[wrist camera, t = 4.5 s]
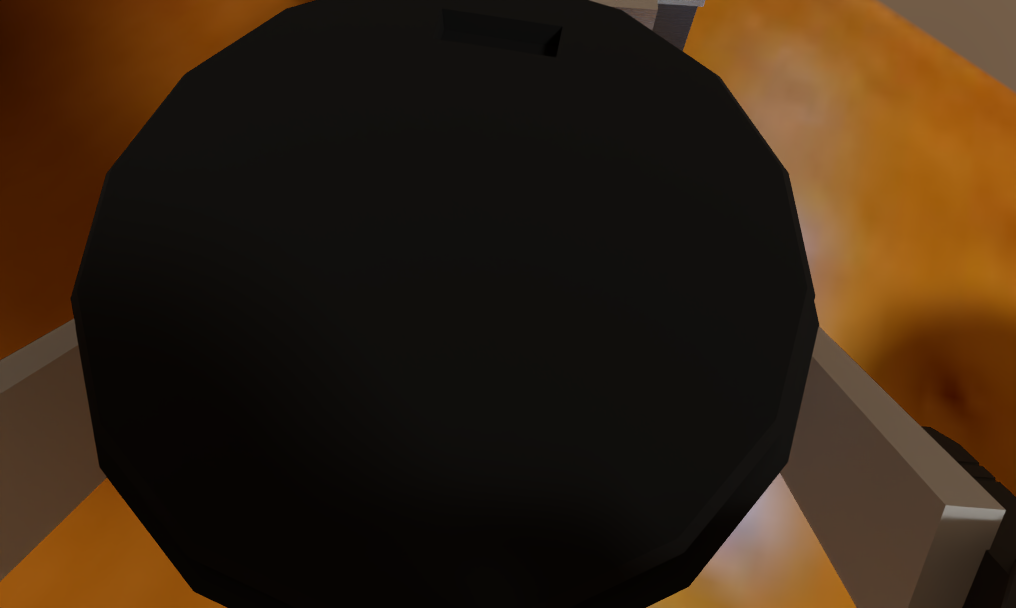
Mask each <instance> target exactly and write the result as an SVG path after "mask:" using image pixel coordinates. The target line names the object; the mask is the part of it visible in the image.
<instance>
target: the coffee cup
mask: <svg viewBox="0 0 1016 608" xmlns="http://www.w3.org/2000/svg"><path fill="white" fill-rule="evenodd" d="M814 299H815V292H814V288H813V283H812V278H811V274H810V269H809V265H808V260H807V256H806V251H805V246H804V242H803V237H802V233H801V228H800V224H799V219H798V214H797V210H796V205H795V201H794V196H793V192H792V187H791V182H790V178H789V173H788V172H787V170H786V169H785V168H784V166H783V165H782V163H781V162H780V161H779V159H778V158H777V156H776V155H775V154H774V152H773V151H772V149H771V148H770V147H769V145H768V144H767V142H766V141H765V140H764V138H763V137H762V135H761V134H760V133H759V131H758V130H757V128H756V127H755V126H754V124H753V123H752V121H751V120H750V119H749V117H748V116H747V114H746V113H745V111H744V110H743V109H742V107H741V106H740V104H739V103H738V102H737V100H736V99H735V97H734V96H733V95H732V93H731V92H730V90H729V89H728V88H727V86H726V85H725V83H724V82H723V81H722V79H721V78H720V77H719V76H718V75H716V74H715V73H713V72H712V71H711V70H709V69H708V68H706V67H705V66H703V65H702V64H700V63H699V62H697V61H696V60H694V59H693V58H691V57H690V56H689V55H687V54H686V53H684V52H683V51H681V50H680V49H678V48H677V47H675V46H674V45H672V44H671V43H670V42H668V41H667V40H665V39H664V38H662V37H661V36H659V35H658V34H656V33H655V32H653V31H652V30H651V29H649V28H648V27H646V26H645V25H643V24H642V23H640V22H639V21H637V20H636V19H634V18H633V17H632V16H630V15H629V14H627V13H626V12H624V11H622V10H621V9H617V8H614V7H610V6H607V5H604V4H600V3H597V2H594V1H590V0H315V1H312V2H308V3H305V4H301V5H298V6H294V7H291V8H287V9H285V10H284V11H282V12H280V13H279V14H277V15H276V16H274V17H273V18H271V19H270V20H268V21H267V22H265V23H263V24H262V25H260V26H259V27H257V28H256V29H254V30H253V31H251V32H249V33H248V34H246V35H245V36H243V37H242V38H240V39H239V40H237V41H235V42H234V43H232V44H231V45H229V46H228V47H226V48H225V49H223V50H222V51H220V52H218V53H217V54H215V55H214V56H212V57H211V58H209V59H208V60H206V61H204V62H203V63H201V64H200V65H198V66H197V67H195V68H194V69H192V70H191V71H189V72H187V73H186V74H185V75H184V76H183V77H182V78H181V80H180V81H179V82H178V83H177V85H176V86H175V87H174V88H173V90H172V91H171V92H170V94H169V95H168V96H167V97H166V99H165V100H164V101H163V102H162V104H161V105H160V106H159V108H158V109H157V110H156V111H155V113H154V114H153V115H152V116H151V118H150V119H149V120H148V122H147V123H146V124H145V125H144V127H143V128H142V129H141V130H140V132H139V133H138V134H137V136H136V137H135V138H134V139H133V141H132V142H131V143H130V144H129V146H128V147H127V148H126V150H125V151H124V152H123V153H122V155H121V156H120V157H119V158H118V160H117V161H116V162H115V164H114V165H113V166H112V167H111V169H110V170H109V171H108V172H107V174H106V177H105V180H104V184H103V187H102V191H101V194H100V198H99V201H98V205H97V208H96V212H95V215H94V219H93V222H92V226H91V229H90V233H89V236H88V240H87V243H86V247H85V250H84V254H83V257H82V261H81V264H80V268H79V271H78V275H77V278H76V282H75V285H74V289H73V292H72V296H71V303H72V309H73V314H74V320H75V326H76V327H75V329H76V335H77V341H78V346H79V352H80V358H81V364H82V370H83V375H84V381H85V387H86V393H87V399H88V404H89V410H90V416H91V422H92V427H93V433H94V439H95V445H96V451H97V456H98V462H99V467H100V469H101V470H102V471H103V473H104V474H105V475H106V477H107V478H108V479H109V480H110V482H111V483H112V484H113V486H114V487H115V488H116V490H117V491H118V492H119V494H120V495H121V496H122V498H123V499H124V500H125V502H126V503H127V504H128V506H129V507H130V508H131V509H132V511H133V512H134V513H135V515H136V516H137V517H138V519H139V520H140V521H141V523H142V524H143V525H144V527H145V528H146V529H147V531H148V532H149V533H150V534H151V536H152V537H153V538H154V540H155V541H156V542H157V544H158V545H159V546H160V548H161V549H162V550H163V552H164V553H165V554H166V556H167V557H168V558H169V560H170V561H171V562H172V563H173V565H174V566H175V567H176V569H177V570H178V571H179V573H180V574H181V575H182V577H183V578H184V579H185V581H186V582H187V583H188V585H189V586H190V587H191V588H192V590H193V591H194V592H196V593H198V594H200V595H202V596H204V597H206V598H208V599H211V600H213V601H215V602H217V603H219V604H221V605H223V606H225V607H227V608H646V607H648V606H650V605H652V604H654V603H656V602H658V601H660V600H662V599H665V598H667V597H669V596H671V595H673V594H675V593H677V592H679V591H681V590H683V589H685V588H687V587H689V586H690V585H691V583H692V582H693V581H694V580H695V578H696V577H697V576H698V575H699V573H700V572H701V571H702V570H703V568H704V567H705V566H706V565H707V563H708V562H709V561H710V559H711V558H712V557H713V556H714V554H715V553H716V552H717V551H718V549H719V548H720V547H721V546H722V544H723V543H724V542H725V541H726V539H727V538H728V537H729V536H730V534H731V533H732V532H733V531H734V529H735V528H736V527H737V526H738V524H739V523H740V522H741V521H742V519H743V518H744V517H745V516H746V514H747V513H748V512H749V510H750V509H751V508H752V507H753V505H754V504H755V503H756V502H757V500H758V499H759V498H760V497H761V495H762V494H763V493H764V492H765V490H766V489H767V488H768V487H769V485H770V484H771V483H772V482H773V480H774V479H775V478H776V477H777V475H778V474H779V473H780V472H781V470H782V469H783V468H784V467H785V465H786V464H787V463H788V460H789V456H790V451H791V447H792V442H793V438H794V433H795V429H796V425H797V420H798V416H799V411H800V407H801V402H802V398H803V394H804V389H805V385H806V380H807V376H808V372H809V367H810V363H811V358H812V354H813V349H814V345H815V341H816V336H817V332H818V327H819V322H818V317H817V312H816V308H815V303H814Z"/></svg>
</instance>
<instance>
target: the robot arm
mask: <svg viewBox="0 0 1016 608" xmlns="http://www.w3.org/2000/svg"><path fill="white" fill-rule="evenodd" d="M75 327H76V326H75V320H74V319H72V320H71V321H69V322H67V323H65V324H64V325H62V326H60V327H58V328H57V329H55V330H53V331H51V332H49V333H48V334H46V335H44V336H42V337H41V338H39V339H37V340H35V341H34V342H32V343H30V344H28V345H27V346H25V347H23V348H21V349H20V350H18V351H16V352H14V353H13V354H11V355H9V356H7V357H5V358H4V359H2V360H0V581H1V580H2V579H3V578H4V577H5V576H6V575H7V574H8V573H9V572H10V571H11V570H12V569H13V568H14V567H16V566H17V565H18V564H19V563H20V562H21V561H22V560H23V559H24V558H25V557H26V556H27V555H28V554H29V553H30V552H31V551H32V550H33V549H34V548H35V547H36V546H37V545H38V544H39V543H40V542H41V541H42V540H43V539H44V538H45V537H46V536H47V535H48V534H49V533H50V532H51V531H52V530H53V529H54V528H55V527H56V526H58V525H59V524H60V523H61V522H62V521H63V520H64V519H65V518H66V517H67V516H68V515H69V514H70V513H71V512H72V511H73V510H74V509H75V508H76V507H77V506H78V505H79V504H80V503H81V502H82V501H83V500H84V499H85V498H86V497H87V496H88V495H89V494H90V493H91V492H92V491H93V490H94V489H95V488H96V487H97V486H98V485H99V484H101V483H102V482H103V481H104V480H105V479H106V478H107V477H106V475H105V474H104V473H103V471H102V470H101V469H100V467H99V462H98V456H97V451H96V445H95V439H94V433H93V427H92V422H91V416H90V410H89V404H88V399H87V393H86V387H85V381H84V375H83V370H82V364H81V358H80V352H79V346H78V341H77V335H76V329H75ZM780 474H781V475H782V477H783V479H784V481H785V482H786V484H787V486H788V488H789V489H790V491H791V493H792V495H793V496H794V498H795V500H796V502H797V503H798V505H799V507H800V509H801V510H802V512H803V514H804V516H805V517H806V519H807V521H808V523H809V524H810V526H811V528H812V530H813V531H814V533H815V535H816V537H817V538H818V540H819V542H820V544H821V545H822V547H823V549H824V551H825V553H826V554H827V556H828V558H829V560H830V561H831V563H832V565H833V567H834V568H835V570H836V572H837V574H838V575H839V577H840V579H841V581H842V582H843V584H844V586H845V588H846V589H847V591H848V593H849V595H850V596H851V598H852V600H853V602H854V603H855V605H856V607H857V608H1016V497H1015V496H1014V495H1013V494H1012V493H1011V492H1010V491H1009V490H1008V489H1007V488H1005V487H1004V486H1003V485H1002V484H1001V483H1000V482H996V481H995V477H994V476H993V475H992V474H990V473H989V472H988V471H987V470H986V469H985V468H984V467H983V466H979V462H978V461H977V460H976V459H974V458H973V457H972V456H971V455H970V454H969V453H968V452H967V451H966V450H965V449H964V448H963V447H962V446H961V445H959V444H958V443H956V442H955V441H953V440H951V439H950V438H948V437H946V436H944V435H943V434H941V433H939V432H938V431H936V430H934V429H933V428H931V427H923V426H920V425H919V424H918V423H917V422H916V421H915V420H914V419H913V418H912V417H911V416H910V415H909V414H908V413H907V412H906V411H905V410H904V409H903V408H901V407H900V406H899V405H898V404H897V403H896V402H895V401H894V400H893V399H892V398H891V397H890V396H889V395H888V394H887V393H886V392H885V391H884V390H883V389H882V388H881V387H880V386H879V385H878V384H877V383H876V382H875V381H874V380H873V379H872V378H871V377H870V376H869V375H868V374H867V373H866V372H865V371H864V370H863V369H862V368H861V367H860V366H859V365H858V364H857V363H856V362H855V361H854V360H853V359H852V358H851V357H850V356H849V355H848V354H847V353H846V352H845V351H844V350H842V349H841V348H840V347H839V346H838V345H837V344H836V343H835V342H834V341H833V340H832V339H831V338H830V337H829V336H828V335H827V334H826V333H825V332H824V331H823V330H822V329H821V328H820V327H818V332H817V336H816V341H815V345H814V349H813V354H812V358H811V363H810V367H809V372H808V376H807V380H806V385H805V389H804V394H803V398H802V402H801V407H800V411H799V416H798V420H797V425H796V429H795V433H794V438H793V442H792V447H791V451H790V456H789V460H788V463H787V464H786V465H785V467H784V468H783V469H782V470H781V472H780Z"/></svg>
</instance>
